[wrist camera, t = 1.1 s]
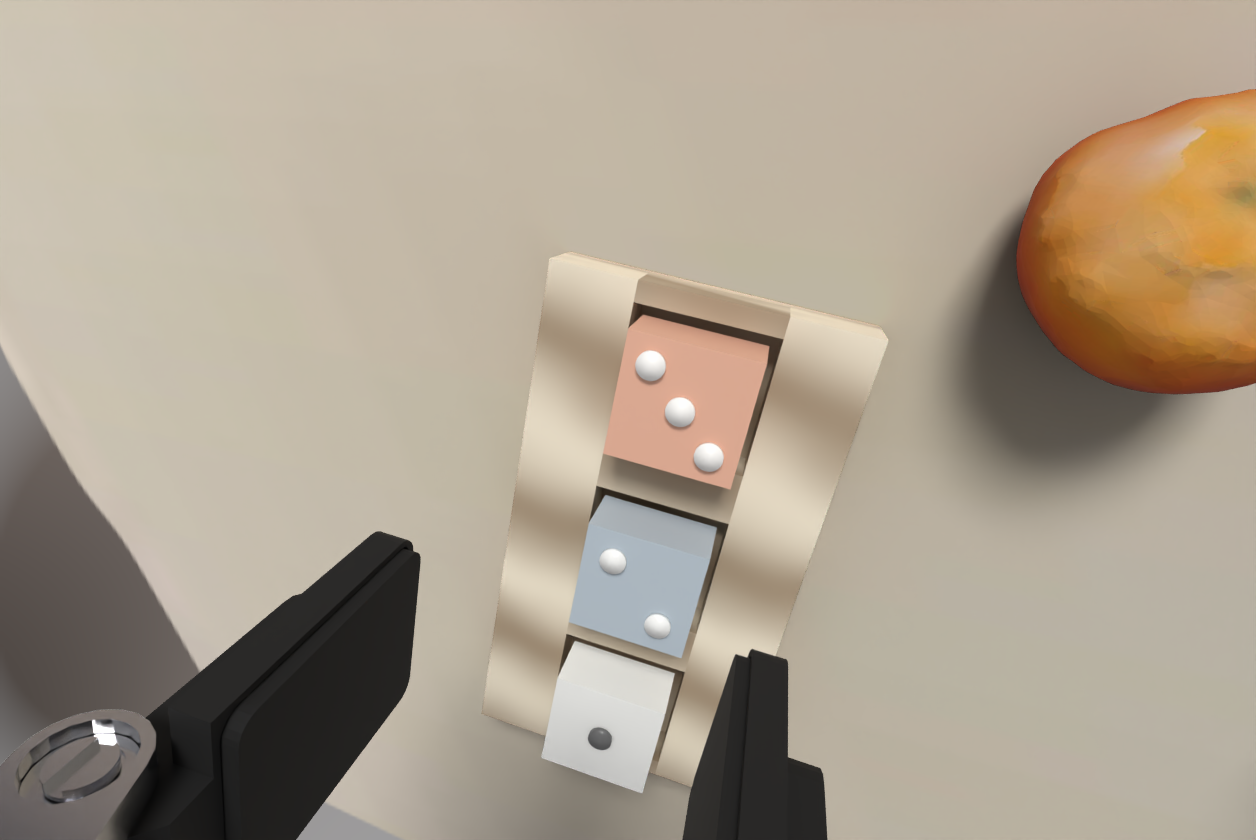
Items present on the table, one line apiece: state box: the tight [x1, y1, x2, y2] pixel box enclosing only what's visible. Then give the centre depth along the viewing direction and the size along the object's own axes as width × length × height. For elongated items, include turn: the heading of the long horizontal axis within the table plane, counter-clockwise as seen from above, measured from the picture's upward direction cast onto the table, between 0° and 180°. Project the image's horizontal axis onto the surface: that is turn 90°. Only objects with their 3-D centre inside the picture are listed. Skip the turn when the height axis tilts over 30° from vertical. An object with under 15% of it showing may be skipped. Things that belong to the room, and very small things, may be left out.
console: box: [481, 252, 888, 787], centre depth 28 cm, size 22×12×2 cm, turn 169°
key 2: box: [569, 495, 717, 658], centre depth 26 cm, size 5×5×3 cm
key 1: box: [541, 641, 675, 793], centre depth 29 cm, size 5×5×3 cm
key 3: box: [603, 315, 769, 490], centre depth 23 cm, size 5×5×3 cm
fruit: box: [1016, 89, 1256, 394], centre depth 19 cm, size 8×8×8 cm
